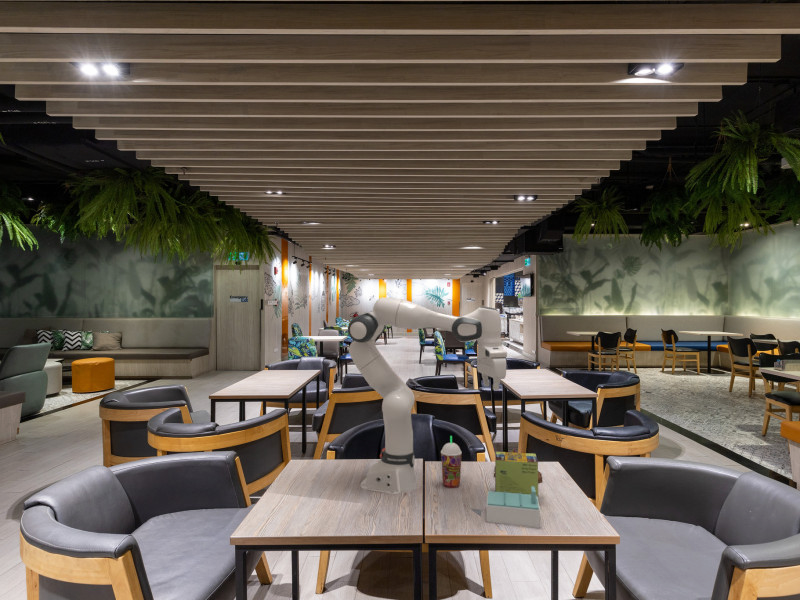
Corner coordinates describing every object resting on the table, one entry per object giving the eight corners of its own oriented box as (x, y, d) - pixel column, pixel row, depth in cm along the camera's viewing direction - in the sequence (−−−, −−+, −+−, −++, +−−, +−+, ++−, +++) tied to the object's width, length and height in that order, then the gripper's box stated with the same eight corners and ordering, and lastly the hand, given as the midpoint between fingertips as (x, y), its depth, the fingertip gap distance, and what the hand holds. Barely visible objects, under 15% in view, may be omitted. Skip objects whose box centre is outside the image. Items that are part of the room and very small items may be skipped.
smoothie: (448, 491, 177) (448, 440, 178) (437, 484, 185) (436, 434, 185) (466, 487, 181) (465, 437, 181) (454, 480, 189) (453, 432, 189)
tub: (486, 523, 151) (486, 505, 151) (487, 509, 162) (487, 492, 162) (540, 529, 147) (539, 510, 148) (537, 513, 158) (537, 496, 158)
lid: (487, 508, 152) (487, 491, 152) (488, 495, 162) (488, 479, 162) (538, 513, 148) (538, 495, 148) (536, 499, 158) (536, 483, 158)
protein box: (538, 505, 165) (538, 462, 165) (495, 502, 168) (495, 459, 168) (536, 494, 175) (535, 453, 175) (495, 490, 178) (494, 451, 178)
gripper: (472, 348, 179) (473, 383, 178) (491, 353, 159) (493, 393, 158) (487, 347, 180) (488, 382, 180) (509, 352, 160) (510, 392, 159)
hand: (491, 387), depth 169 cm, fingers open, 8 cm apart
